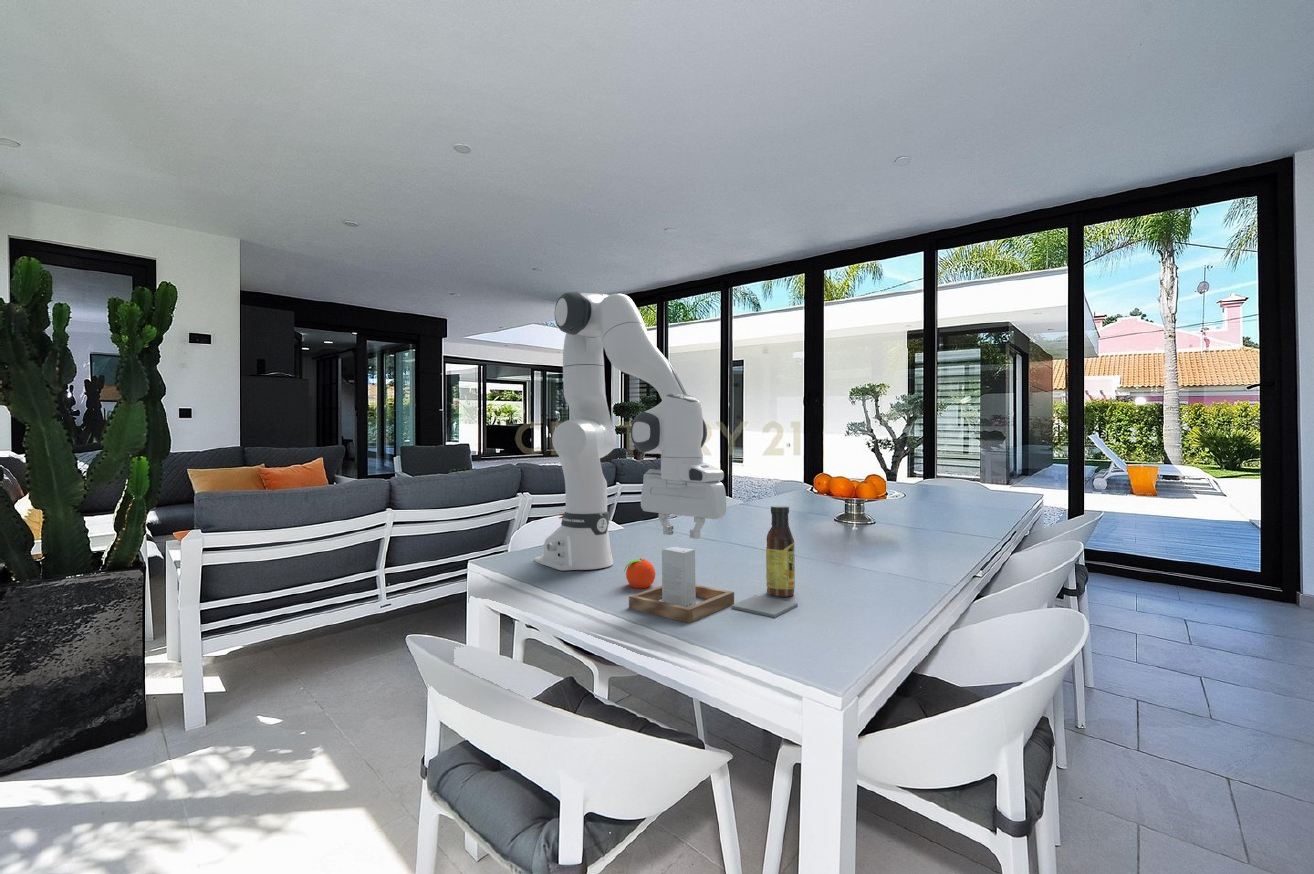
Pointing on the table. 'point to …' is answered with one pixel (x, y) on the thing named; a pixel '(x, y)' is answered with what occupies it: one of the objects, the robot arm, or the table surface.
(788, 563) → the sauce bottle
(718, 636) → the table surface
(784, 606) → the slate pad
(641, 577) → the clementine
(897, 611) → the table surface
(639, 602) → the frame
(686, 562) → the skincare box
